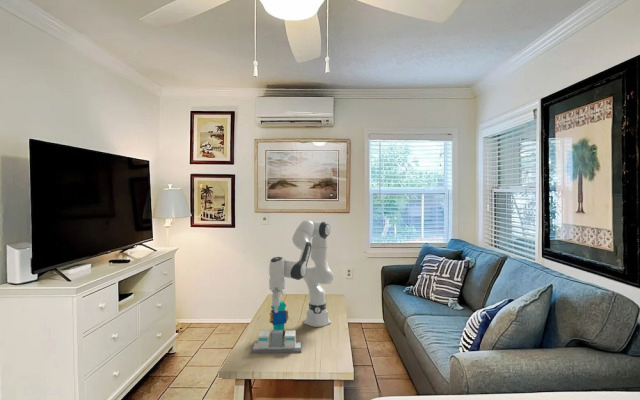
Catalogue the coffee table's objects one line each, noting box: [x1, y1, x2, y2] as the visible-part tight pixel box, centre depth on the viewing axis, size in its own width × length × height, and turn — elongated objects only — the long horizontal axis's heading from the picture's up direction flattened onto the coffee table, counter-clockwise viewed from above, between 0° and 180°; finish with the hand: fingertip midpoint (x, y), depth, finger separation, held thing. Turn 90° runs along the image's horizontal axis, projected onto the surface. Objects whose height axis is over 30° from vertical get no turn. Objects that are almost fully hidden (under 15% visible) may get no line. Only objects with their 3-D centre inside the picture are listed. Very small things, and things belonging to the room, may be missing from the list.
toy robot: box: [269, 300, 289, 337], centre depth 227 cm, size 12×6×25 cm, turn 111°
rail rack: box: [251, 329, 303, 354], centre depth 208 cm, size 11×28×9 cm, turn 91°
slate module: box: [271, 329, 284, 347], centre depth 208 cm, size 4×6×8 cm
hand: (277, 309), depth 207 cm, fingers open, 8 cm apart
